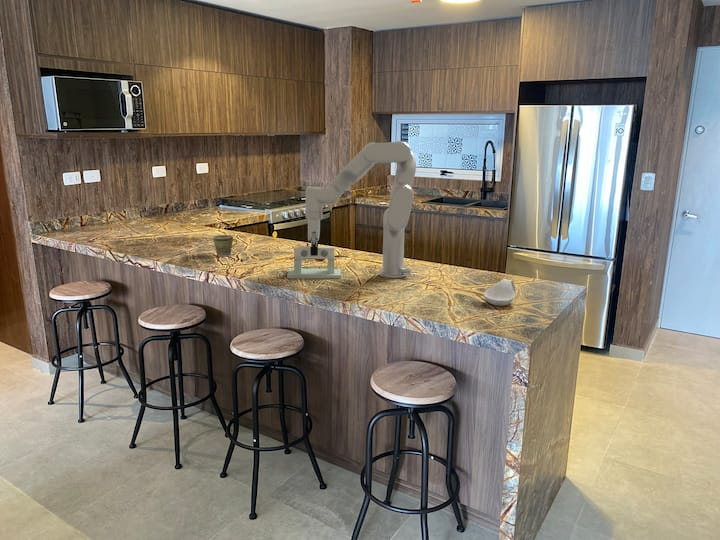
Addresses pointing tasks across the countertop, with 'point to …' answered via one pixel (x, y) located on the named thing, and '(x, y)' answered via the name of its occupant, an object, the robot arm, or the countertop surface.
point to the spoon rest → (501, 293)
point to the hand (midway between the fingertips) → (314, 253)
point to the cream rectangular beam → (306, 254)
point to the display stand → (313, 270)
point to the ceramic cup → (223, 245)
